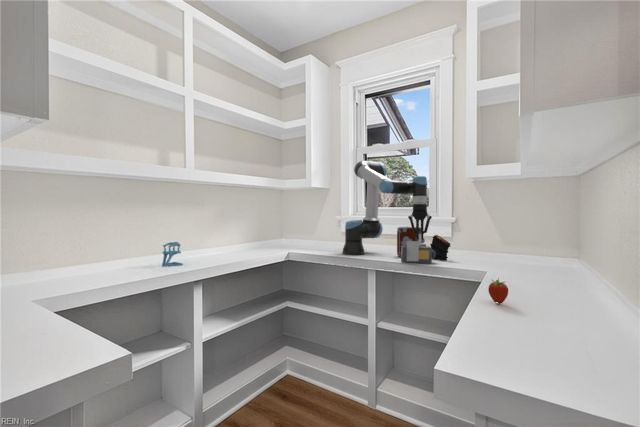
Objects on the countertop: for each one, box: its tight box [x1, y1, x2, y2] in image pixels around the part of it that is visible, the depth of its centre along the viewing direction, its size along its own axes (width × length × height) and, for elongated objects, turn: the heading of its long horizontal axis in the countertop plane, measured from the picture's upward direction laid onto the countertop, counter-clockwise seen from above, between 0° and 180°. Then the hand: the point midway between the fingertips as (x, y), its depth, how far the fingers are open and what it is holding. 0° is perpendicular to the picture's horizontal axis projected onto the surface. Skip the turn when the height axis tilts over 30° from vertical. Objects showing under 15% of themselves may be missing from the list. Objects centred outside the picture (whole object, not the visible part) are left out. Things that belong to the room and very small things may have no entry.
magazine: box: [429, 234, 451, 262], centre depth 192 cm, size 4×13×15 cm, turn 29°
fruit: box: [488, 277, 509, 304], centre depth 97 cm, size 5×5×8 cm
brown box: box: [396, 225, 427, 258], centre depth 203 cm, size 9×19×20 cm, turn 89°
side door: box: [407, 241, 419, 261], centre depth 176 cm, size 6×1×11 cm, turn 80°
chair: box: [161, 241, 184, 267], centre depth 160 cm, size 8×8×12 cm
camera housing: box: [400, 245, 435, 265], centre depth 180 cm, size 18×10×10 cm, turn 80°
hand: (419, 245), depth 175 cm, fingers closed
